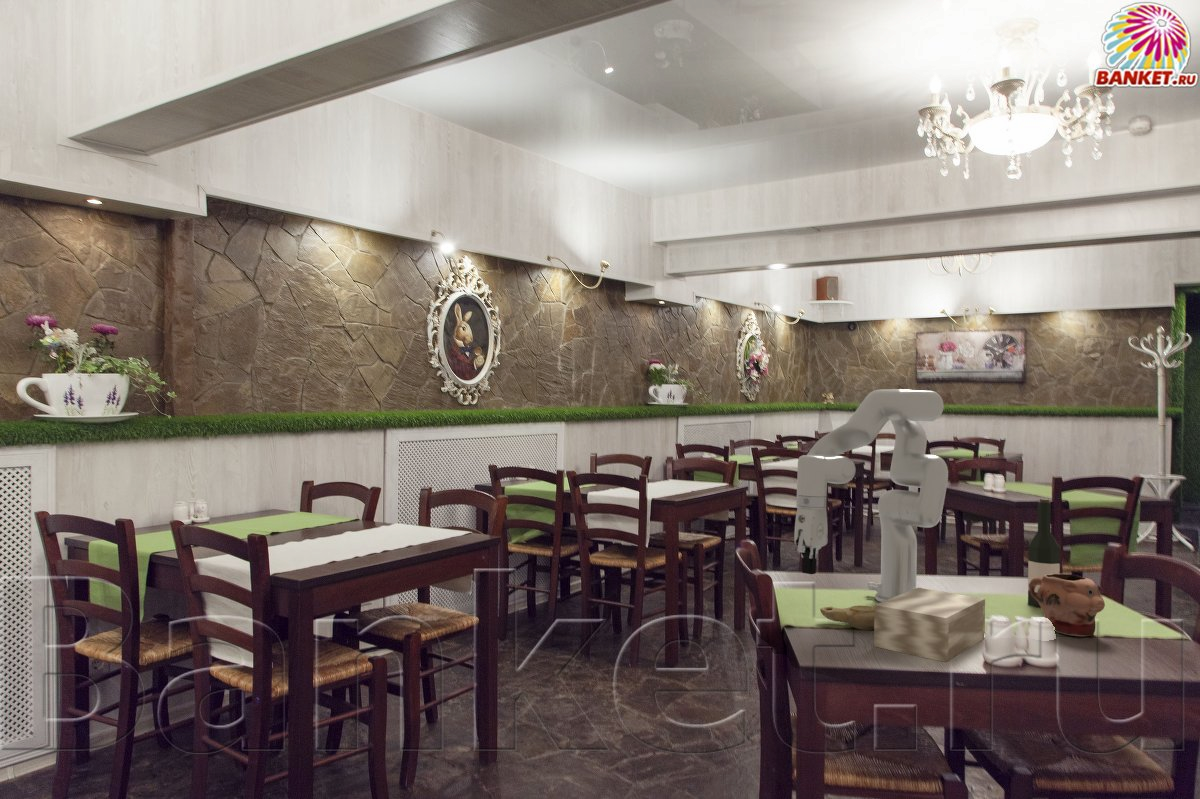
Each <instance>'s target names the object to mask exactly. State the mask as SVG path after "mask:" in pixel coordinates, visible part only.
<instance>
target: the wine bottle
mask: <svg viewBox="0 0 1200 799" xmlns="http://www.w3.org/2000/svg"><path fill="white" fill-rule="evenodd" d="M1051 508H1052V503H1051V502H1050V498H1049V499H1048V498H1040V499H1039V501H1037V532H1036V533H1035V535H1034V536H1033V538H1032V539H1030V542H1029V543H1028V557H1027V558H1028V559H1027V560H1028V565H1027V567H1028V571H1027V572H1028V574H1027V575H1028V576H1027V577H1028V578H1027V580H1028V581H1027V606H1031V607H1034V608H1038V609H1042V608H1041V606H1040V605H1039V603H1038V601H1037V600H1036V599H1035V598H1033V597H1032V595H1031V593H1030V590H1029V584H1030V582H1031V580H1032V579H1033V578H1037V577H1041V578H1043V576H1044V575H1047V574H1061V573H1060V571H1061V569H1060V568H1061V567H1060V566H1061V565H1060V562H1061V561H1060V560H1061V557H1060V556H1061V552H1060V551H1061V547H1060V545H1059V543H1058V542H1057V540H1056V538H1055V537H1054V536H1053V534H1052V532H1051V530H1052V529H1051V528H1052V525H1051V523H1052V522H1051V519H1052V518H1051V517H1052V516H1051V511H1052V509H1051ZM1040 586H1041V585H1036V587H1035V591H1034V592H1035V595H1036V596H1037V591H1038V589H1039V587H1040Z"/></svg>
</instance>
